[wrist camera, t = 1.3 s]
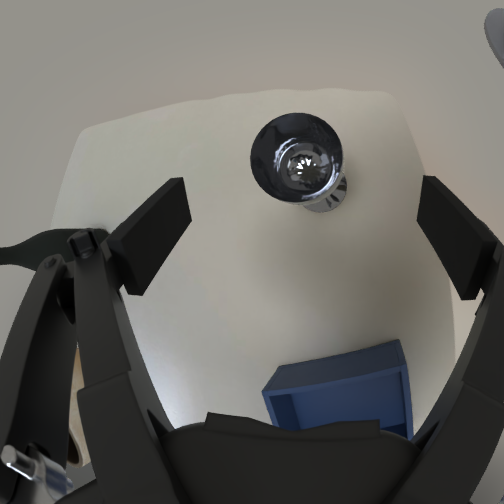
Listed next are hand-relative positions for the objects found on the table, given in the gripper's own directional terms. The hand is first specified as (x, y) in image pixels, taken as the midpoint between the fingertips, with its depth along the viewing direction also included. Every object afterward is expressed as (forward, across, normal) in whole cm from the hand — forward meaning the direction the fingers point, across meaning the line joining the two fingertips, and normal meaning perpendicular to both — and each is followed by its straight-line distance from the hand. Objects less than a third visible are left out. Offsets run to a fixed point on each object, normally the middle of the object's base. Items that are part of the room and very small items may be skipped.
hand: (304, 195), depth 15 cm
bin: (+6, +7, -33) cm, 34 cm away
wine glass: (+22, +2, -8) cm, 24 cm away
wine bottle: (+24, -39, -19) cm, 49 cm away
